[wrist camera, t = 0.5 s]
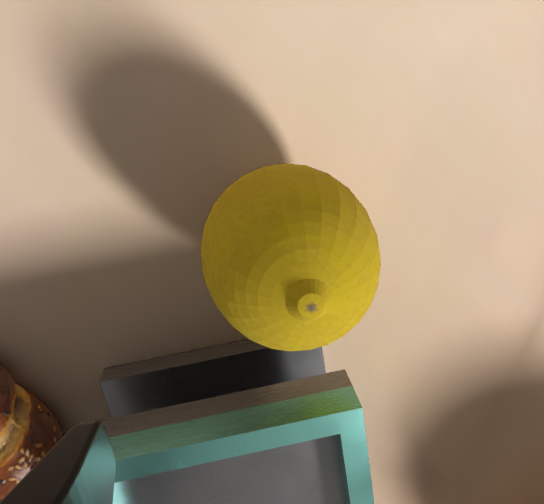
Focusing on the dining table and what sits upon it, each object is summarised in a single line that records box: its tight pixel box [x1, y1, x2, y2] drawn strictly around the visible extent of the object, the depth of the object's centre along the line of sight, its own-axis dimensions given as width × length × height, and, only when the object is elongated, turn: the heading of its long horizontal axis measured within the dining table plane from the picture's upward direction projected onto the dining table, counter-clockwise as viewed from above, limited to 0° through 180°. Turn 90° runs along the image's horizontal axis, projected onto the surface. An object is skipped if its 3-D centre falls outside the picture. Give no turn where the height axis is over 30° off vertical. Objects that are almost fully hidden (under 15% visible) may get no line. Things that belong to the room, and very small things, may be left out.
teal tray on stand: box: [100, 339, 374, 504], centre depth 21 cm, size 10×10×6 cm
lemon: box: [200, 164, 381, 351], centre depth 17 cm, size 6×6×8 cm
